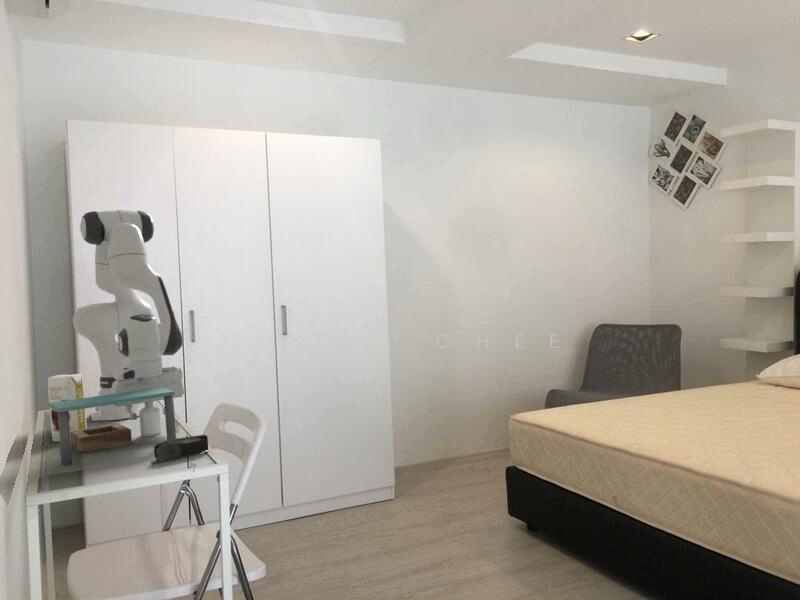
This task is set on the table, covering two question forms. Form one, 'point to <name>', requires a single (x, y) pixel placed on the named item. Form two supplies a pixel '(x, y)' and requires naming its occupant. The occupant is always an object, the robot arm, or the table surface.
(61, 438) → the teal slab bridge
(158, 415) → the eye dropper bottle
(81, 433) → the socket block
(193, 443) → the mobile phone
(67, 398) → the juice carton
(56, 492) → the table surface
